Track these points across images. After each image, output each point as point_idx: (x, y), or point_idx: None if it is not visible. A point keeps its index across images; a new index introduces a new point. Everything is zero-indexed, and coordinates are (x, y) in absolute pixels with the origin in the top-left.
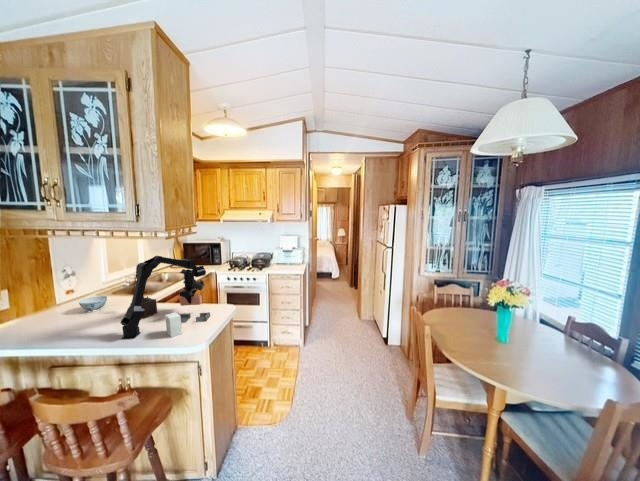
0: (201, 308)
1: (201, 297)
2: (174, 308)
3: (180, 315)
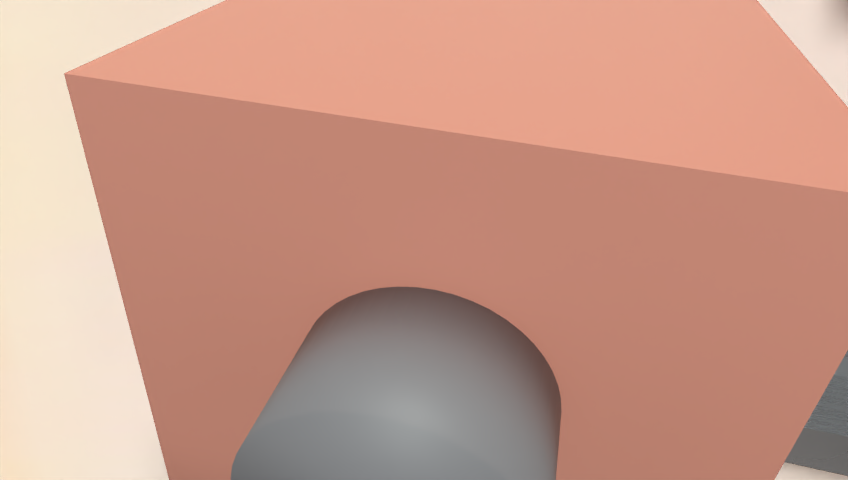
0: (147, 11)
1: (242, 2)
2: (165, 472)
3: (819, 438)
